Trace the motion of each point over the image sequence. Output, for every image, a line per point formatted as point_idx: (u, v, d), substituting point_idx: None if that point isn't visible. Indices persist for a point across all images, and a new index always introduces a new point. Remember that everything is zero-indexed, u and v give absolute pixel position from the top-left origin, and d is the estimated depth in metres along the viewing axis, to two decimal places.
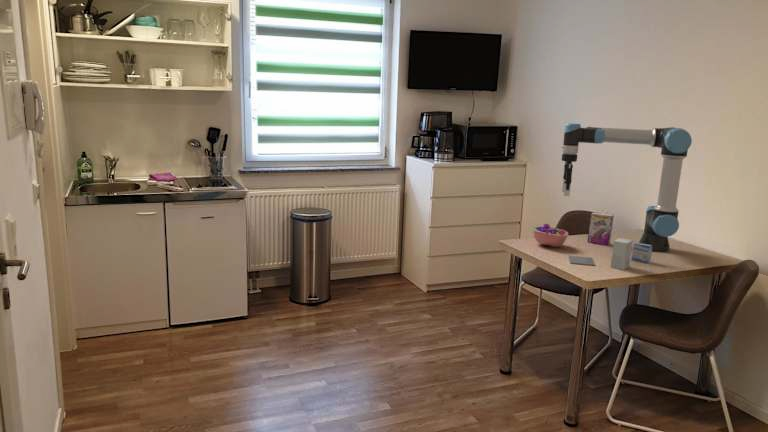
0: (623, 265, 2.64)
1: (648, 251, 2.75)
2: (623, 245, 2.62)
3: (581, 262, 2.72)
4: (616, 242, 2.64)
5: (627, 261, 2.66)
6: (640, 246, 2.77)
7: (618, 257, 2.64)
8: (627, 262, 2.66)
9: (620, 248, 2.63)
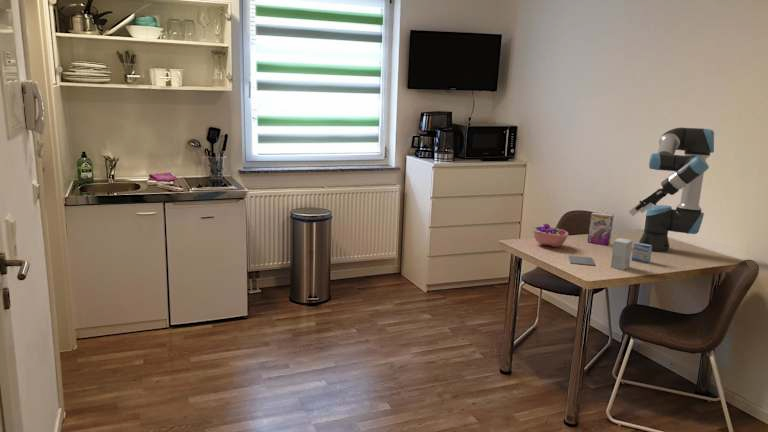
0: (623, 265, 2.64)
1: (648, 251, 2.75)
2: (623, 245, 2.62)
3: (581, 262, 2.72)
4: (616, 242, 2.64)
5: (627, 261, 2.66)
6: (640, 246, 2.77)
7: (618, 257, 2.64)
8: (627, 262, 2.66)
9: (620, 248, 2.63)
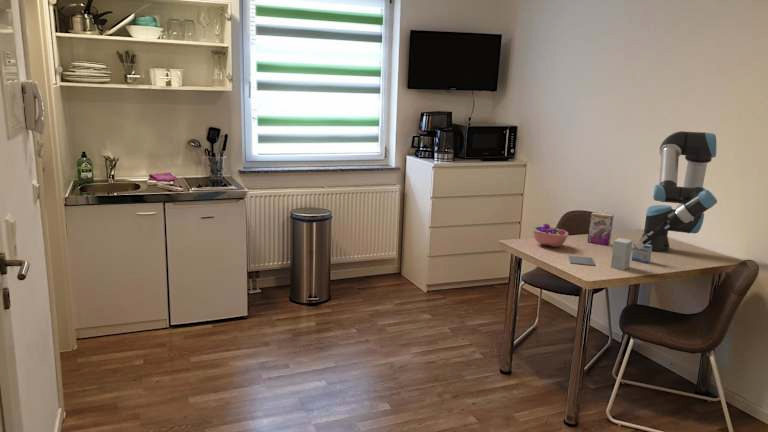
0: (623, 265, 2.64)
1: (648, 251, 2.75)
2: (623, 245, 2.62)
3: (581, 262, 2.72)
4: (616, 242, 2.64)
5: (627, 261, 2.66)
6: None
7: (618, 257, 2.64)
8: (627, 262, 2.66)
9: (620, 248, 2.63)
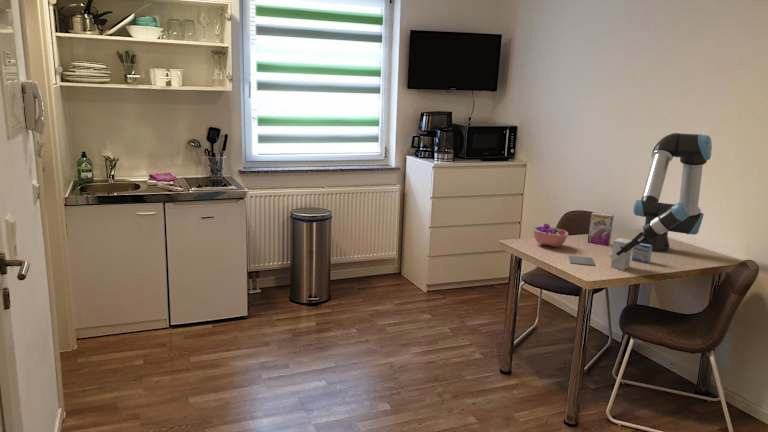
0: (623, 265, 2.64)
1: (648, 251, 2.75)
2: (623, 245, 2.62)
3: (581, 262, 2.72)
4: (616, 242, 2.64)
5: (627, 261, 2.66)
6: (640, 246, 2.77)
7: (618, 257, 2.64)
8: (627, 262, 2.66)
9: None
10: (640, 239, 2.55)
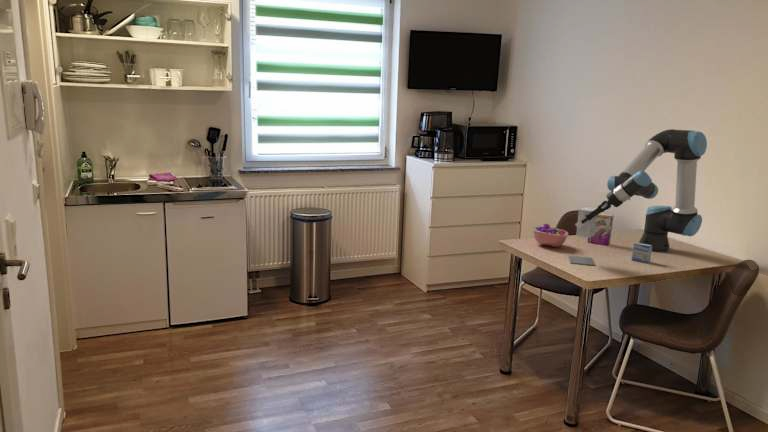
0: (588, 233, 2.68)
1: (648, 251, 2.75)
2: (588, 213, 2.67)
3: (581, 262, 2.72)
4: (581, 210, 2.68)
5: (592, 229, 2.70)
6: (640, 246, 2.77)
7: (583, 225, 2.69)
8: (592, 230, 2.70)
9: None
10: (603, 206, 2.60)
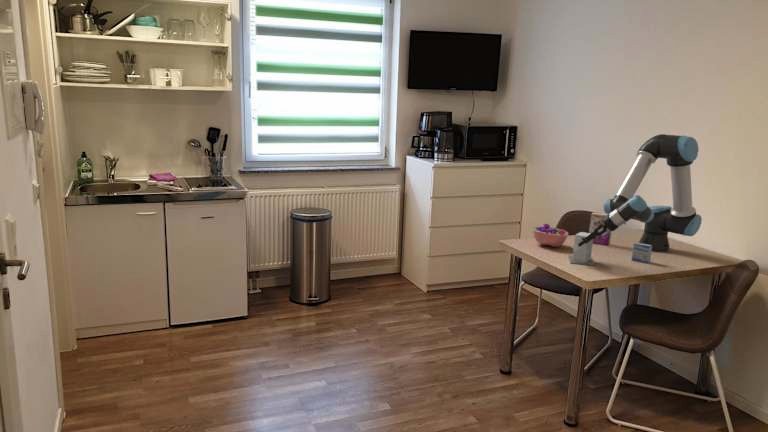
0: (584, 258, 2.71)
1: (648, 251, 2.75)
2: None
3: (581, 262, 2.72)
4: (577, 236, 2.71)
5: (588, 254, 2.73)
6: (640, 246, 2.77)
7: (580, 250, 2.71)
8: (588, 255, 2.73)
9: None
10: (600, 230, 2.62)
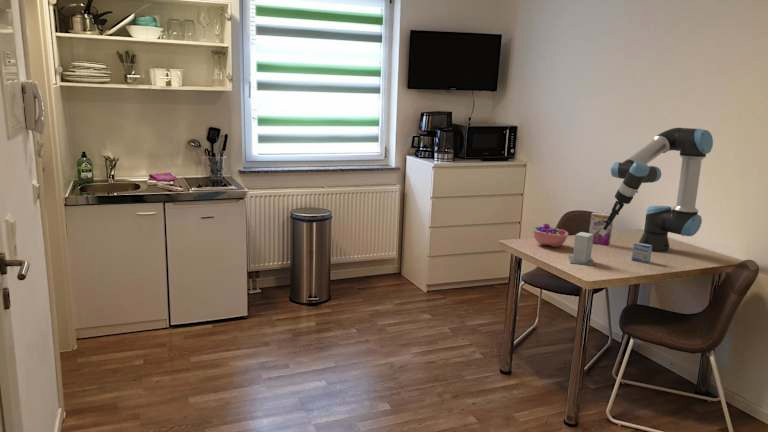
0: (584, 258, 2.71)
1: (648, 251, 2.75)
2: (584, 239, 2.69)
3: (581, 262, 2.72)
4: (577, 236, 2.71)
5: (588, 254, 2.73)
6: (640, 246, 2.77)
7: (580, 250, 2.71)
8: (588, 255, 2.73)
9: (582, 242, 2.70)
10: (617, 207, 2.62)
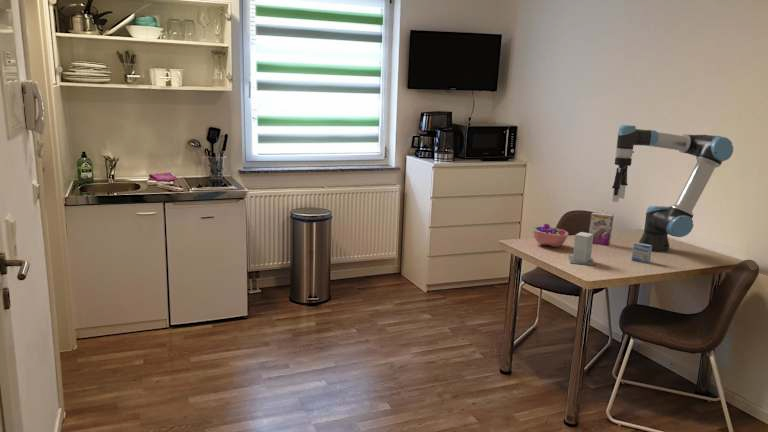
0: (584, 258, 2.71)
1: (648, 251, 2.75)
2: (584, 239, 2.69)
3: (581, 262, 2.72)
4: (577, 236, 2.71)
5: (588, 254, 2.73)
6: (640, 246, 2.77)
7: (580, 250, 2.71)
8: (588, 255, 2.73)
9: (582, 242, 2.70)
10: (619, 169, 2.73)
